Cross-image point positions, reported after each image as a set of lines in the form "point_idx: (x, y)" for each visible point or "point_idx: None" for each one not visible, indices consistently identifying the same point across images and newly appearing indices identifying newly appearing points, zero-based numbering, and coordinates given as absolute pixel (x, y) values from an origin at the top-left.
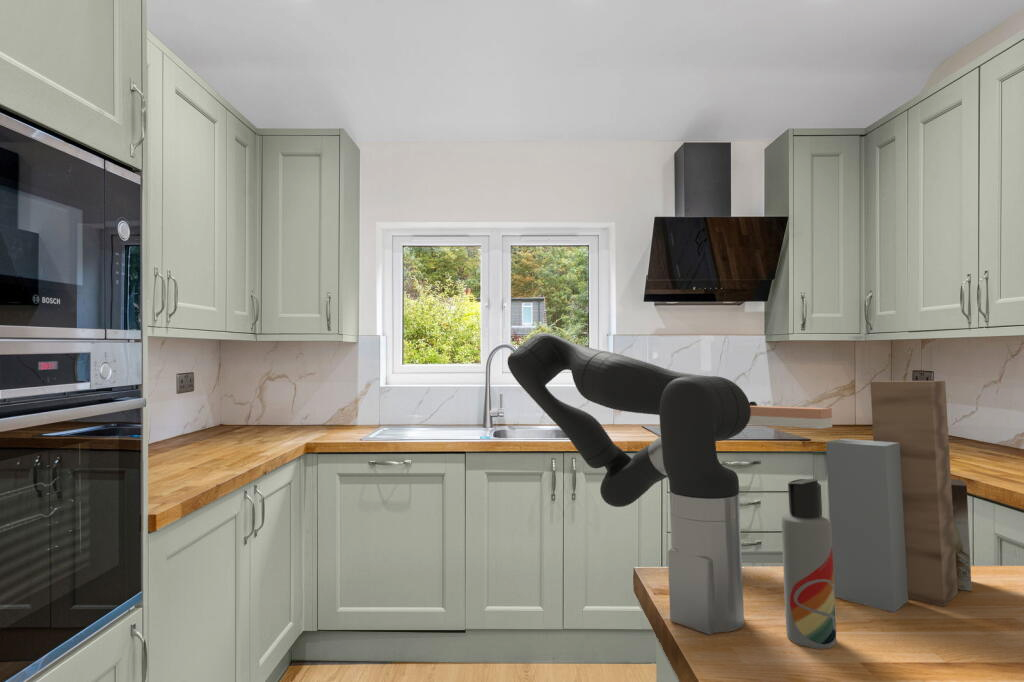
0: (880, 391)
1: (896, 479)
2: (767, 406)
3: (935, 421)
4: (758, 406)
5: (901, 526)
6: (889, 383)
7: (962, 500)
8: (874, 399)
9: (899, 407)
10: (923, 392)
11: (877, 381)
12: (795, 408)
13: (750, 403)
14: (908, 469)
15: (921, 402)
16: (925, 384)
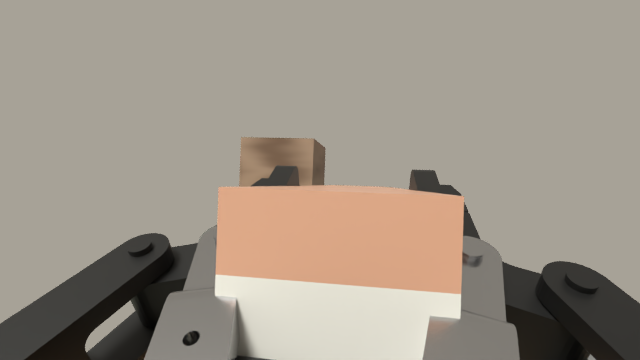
0: (315, 156)
1: None
2: (339, 186)
3: None
4: (358, 187)
5: None
6: (318, 144)
7: None
8: (313, 168)
9: (318, 181)
10: (323, 161)
11: (286, 138)
12: (391, 187)
13: (294, 175)
14: None
15: (322, 174)
16: (324, 151)
